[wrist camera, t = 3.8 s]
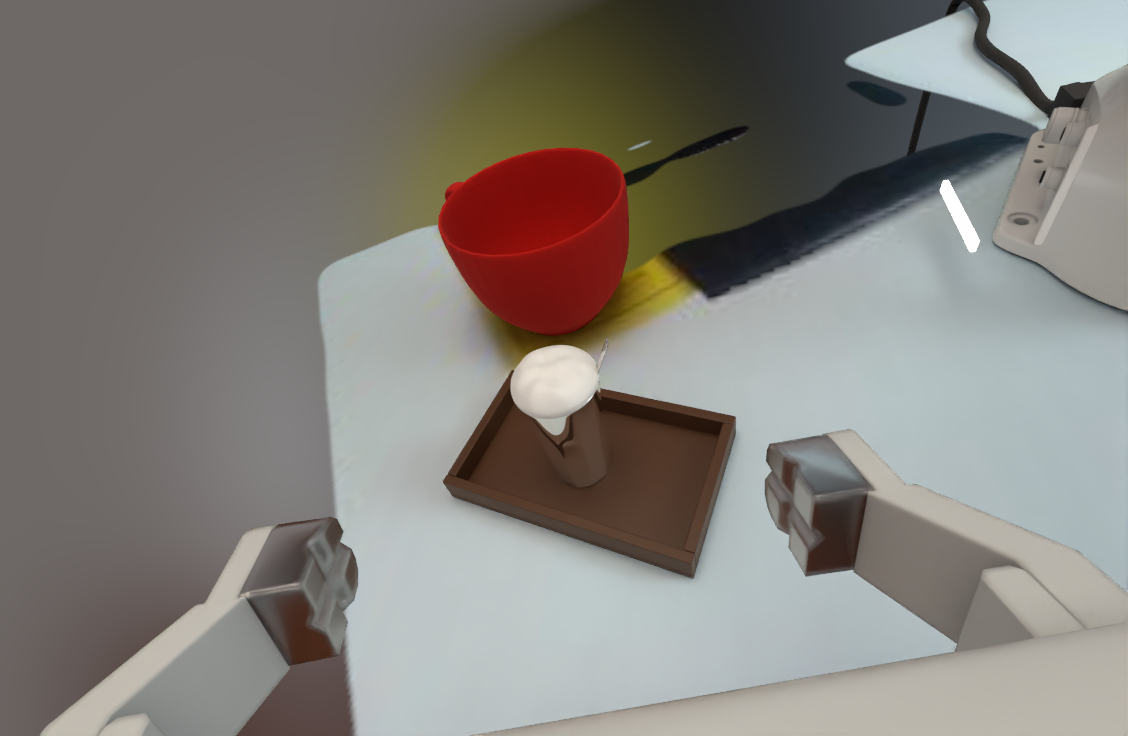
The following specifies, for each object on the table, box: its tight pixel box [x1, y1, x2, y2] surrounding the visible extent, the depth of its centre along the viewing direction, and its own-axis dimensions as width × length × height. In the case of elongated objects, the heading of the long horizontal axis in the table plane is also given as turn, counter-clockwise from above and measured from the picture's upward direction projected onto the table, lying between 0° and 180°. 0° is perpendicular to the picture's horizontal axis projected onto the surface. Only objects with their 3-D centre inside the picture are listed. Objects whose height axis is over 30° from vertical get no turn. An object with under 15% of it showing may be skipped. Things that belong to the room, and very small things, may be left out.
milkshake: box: [510, 338, 610, 488], centre depth 30 cm, size 4×5×10 cm
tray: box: [443, 370, 736, 578], centre depth 33 cm, size 9×15×2 cm, turn 65°
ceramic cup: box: [438, 148, 629, 335], centre depth 42 cm, size 13×17×10 cm
